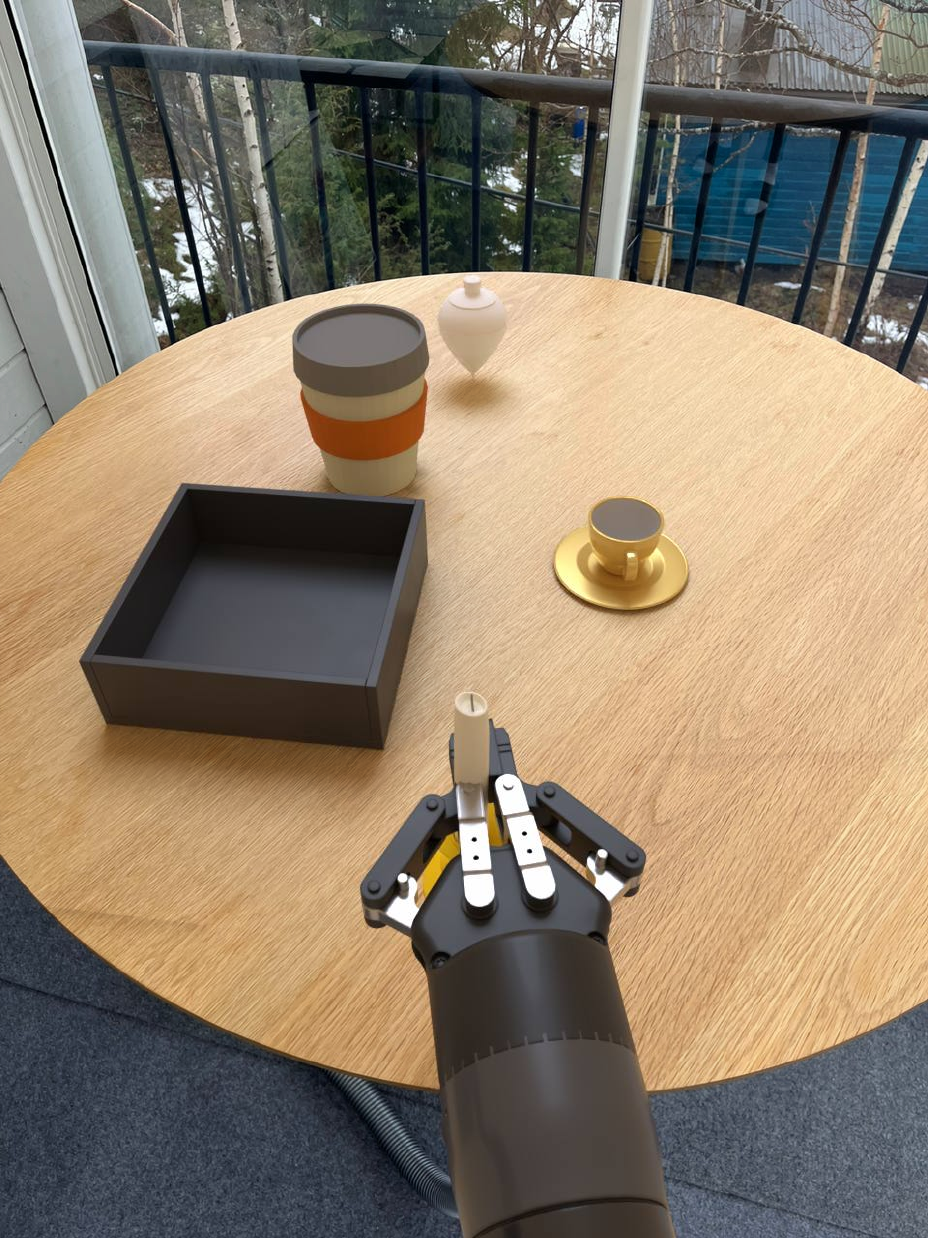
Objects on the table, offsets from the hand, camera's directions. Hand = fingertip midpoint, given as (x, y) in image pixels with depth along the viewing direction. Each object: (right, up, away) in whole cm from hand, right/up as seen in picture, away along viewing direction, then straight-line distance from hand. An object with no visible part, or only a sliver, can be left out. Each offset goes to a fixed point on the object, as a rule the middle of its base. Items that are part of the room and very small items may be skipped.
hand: (475, 730), depth 47 cm
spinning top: (+1, +33, +61) cm, 69 cm away
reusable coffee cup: (-10, +20, +48) cm, 53 cm away
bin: (-16, +4, +31) cm, 35 cm away
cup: (+13, +10, +37) cm, 41 cm away
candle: (0, -9, +4) cm, 10 cm away
